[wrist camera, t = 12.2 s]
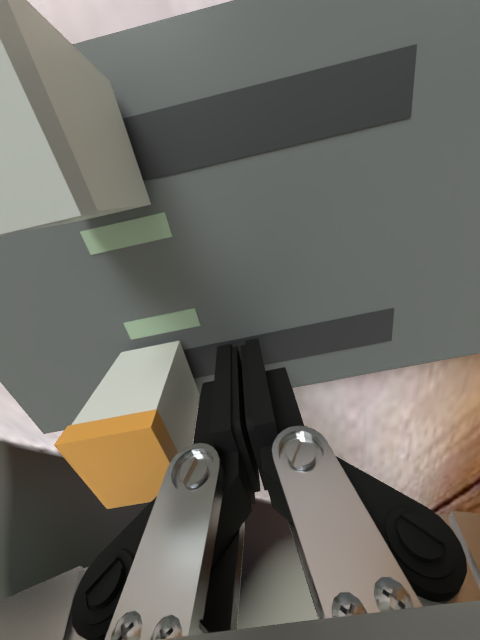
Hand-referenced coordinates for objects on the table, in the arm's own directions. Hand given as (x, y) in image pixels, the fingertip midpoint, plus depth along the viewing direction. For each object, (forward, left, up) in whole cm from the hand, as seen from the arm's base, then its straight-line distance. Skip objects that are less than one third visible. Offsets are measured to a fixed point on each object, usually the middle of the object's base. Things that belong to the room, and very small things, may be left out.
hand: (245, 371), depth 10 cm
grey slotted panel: (-1, -4, -3) cm, 5 cm away
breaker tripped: (+4, 0, -1) cm, 4 cm away
